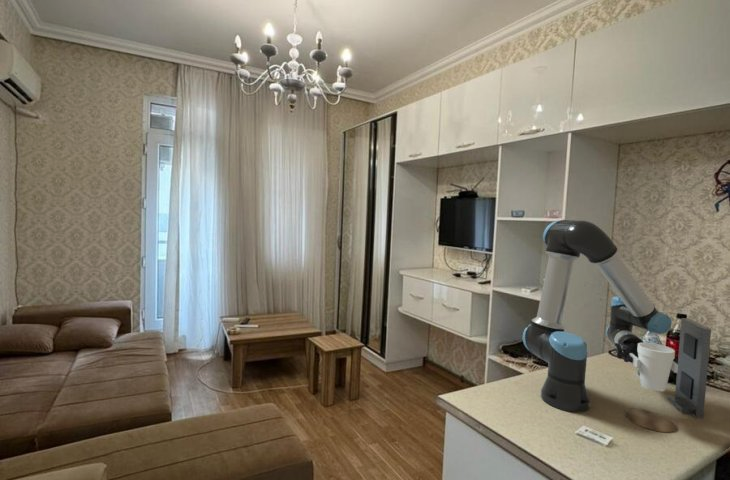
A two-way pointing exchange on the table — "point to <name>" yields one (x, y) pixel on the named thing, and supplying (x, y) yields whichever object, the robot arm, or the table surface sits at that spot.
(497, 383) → the table surface
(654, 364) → the foam cup
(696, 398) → the post
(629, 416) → the coaster
